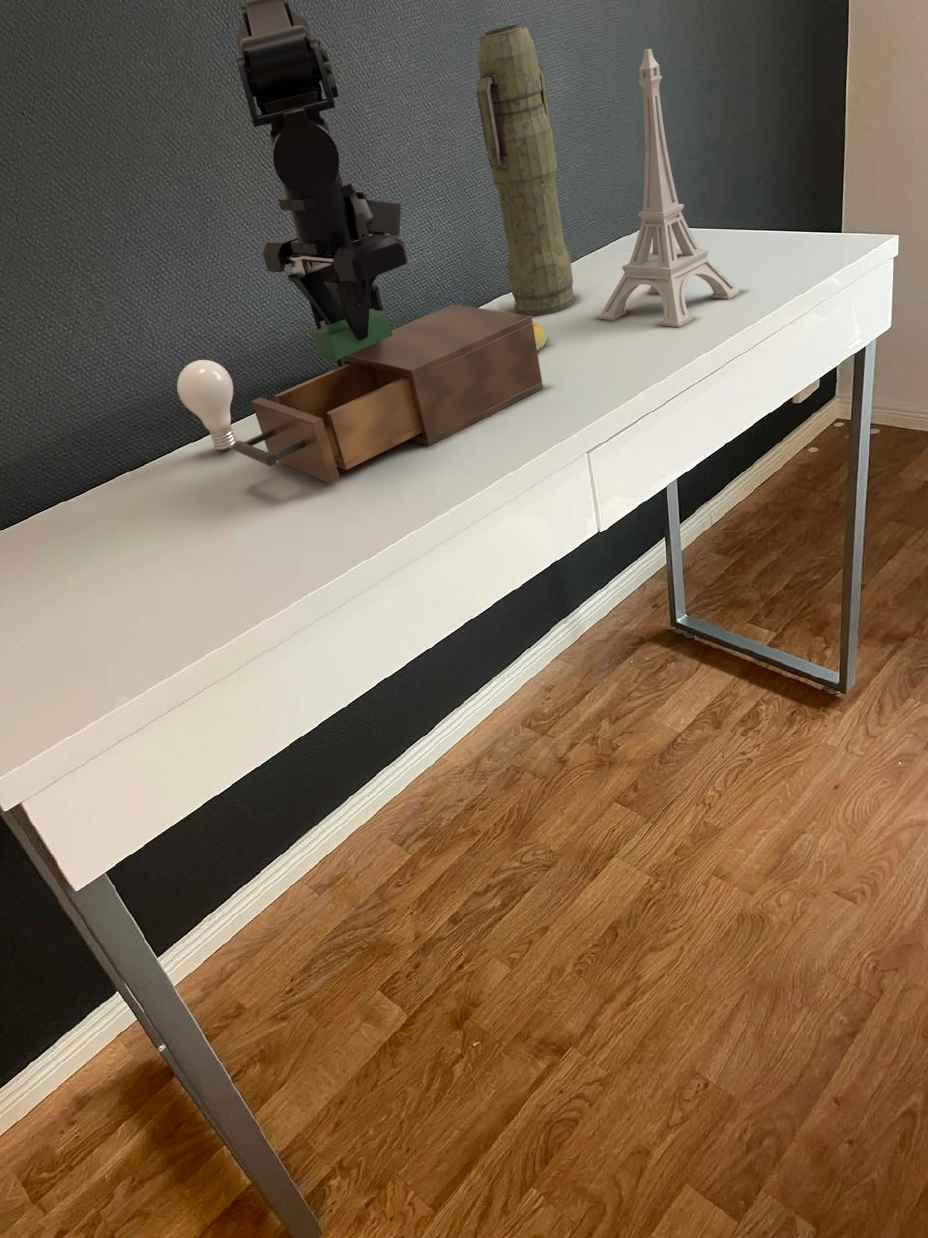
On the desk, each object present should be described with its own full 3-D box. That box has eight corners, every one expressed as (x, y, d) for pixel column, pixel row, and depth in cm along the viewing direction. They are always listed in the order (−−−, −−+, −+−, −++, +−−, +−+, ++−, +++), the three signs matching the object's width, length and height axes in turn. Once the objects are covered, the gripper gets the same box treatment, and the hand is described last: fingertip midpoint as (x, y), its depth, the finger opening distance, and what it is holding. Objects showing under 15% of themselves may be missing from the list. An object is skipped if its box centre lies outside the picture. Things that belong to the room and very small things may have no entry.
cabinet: (429, 446, 105) (411, 370, 100) (357, 422, 115) (338, 352, 111) (543, 388, 112) (531, 315, 108) (466, 371, 123) (452, 303, 118)
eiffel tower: (598, 318, 130) (567, 67, 114) (660, 286, 136) (639, 44, 120) (678, 326, 121) (657, 54, 104) (741, 292, 127) (730, 30, 111)
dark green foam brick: (335, 360, 100) (329, 336, 98) (318, 356, 102) (311, 332, 101) (392, 335, 103) (387, 311, 102) (374, 332, 106) (368, 308, 104)
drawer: (291, 503, 97) (271, 441, 94) (233, 474, 107) (212, 417, 103) (450, 424, 106) (437, 365, 103) (383, 404, 116) (368, 349, 112)
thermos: (592, 291, 141) (557, 14, 122) (549, 319, 134) (505, 29, 115) (541, 291, 146) (500, 26, 127) (498, 318, 139) (447, 41, 120)
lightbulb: (209, 465, 113) (175, 376, 107) (196, 451, 118) (163, 364, 112) (259, 447, 115) (229, 358, 109) (245, 433, 120) (215, 347, 114)
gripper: (432, 156, 91) (465, 319, 99) (329, 161, 104) (365, 304, 113) (336, 188, 86) (379, 357, 94) (240, 189, 99) (285, 337, 108)
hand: (353, 336), depth 102 cm, fingers closed on dark green foam brick, 3 cm apart
